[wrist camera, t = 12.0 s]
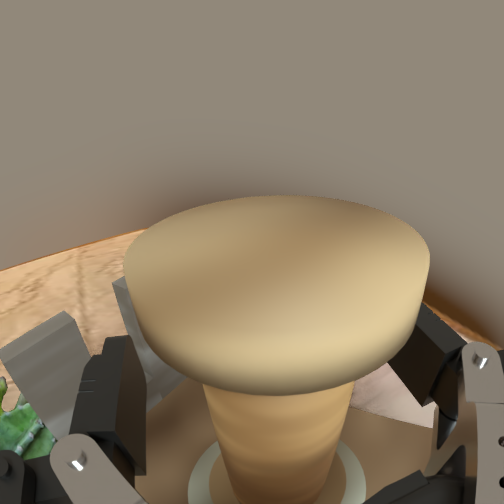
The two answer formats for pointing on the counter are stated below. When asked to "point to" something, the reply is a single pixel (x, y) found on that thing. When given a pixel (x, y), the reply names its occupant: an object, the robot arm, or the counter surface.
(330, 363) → the bobbin
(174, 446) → the board
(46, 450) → the plant
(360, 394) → the counter surface
